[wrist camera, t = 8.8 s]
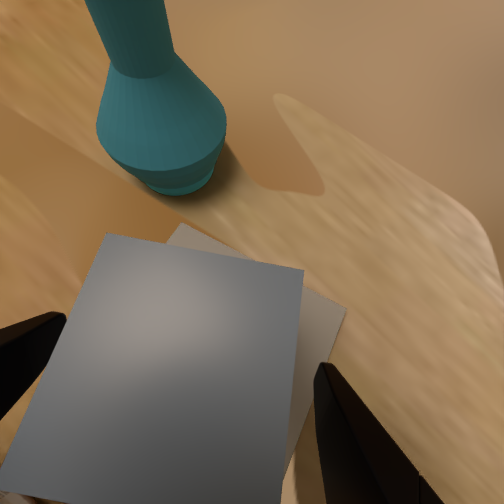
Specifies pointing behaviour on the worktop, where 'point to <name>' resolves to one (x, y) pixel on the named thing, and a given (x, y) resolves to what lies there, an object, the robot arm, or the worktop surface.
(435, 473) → the worktop surface
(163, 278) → the gray rectangular block
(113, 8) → the teal vase
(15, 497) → the tin
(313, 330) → the thin square base plate
